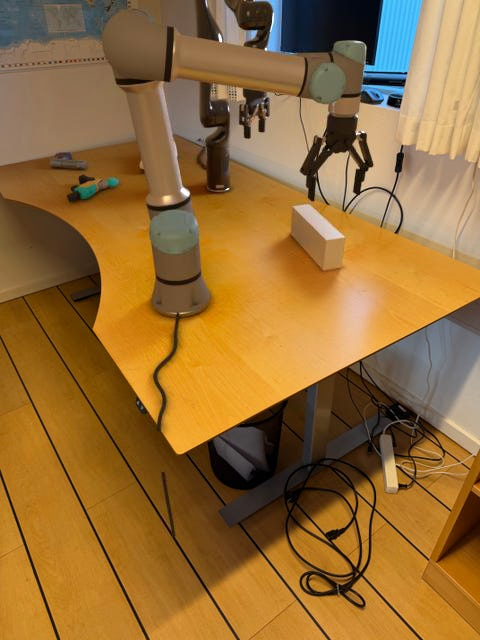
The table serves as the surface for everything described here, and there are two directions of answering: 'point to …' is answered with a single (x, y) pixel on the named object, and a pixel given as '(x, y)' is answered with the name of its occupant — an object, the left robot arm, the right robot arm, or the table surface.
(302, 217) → the box
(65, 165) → the toy gun
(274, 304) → the table surface
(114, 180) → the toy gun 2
